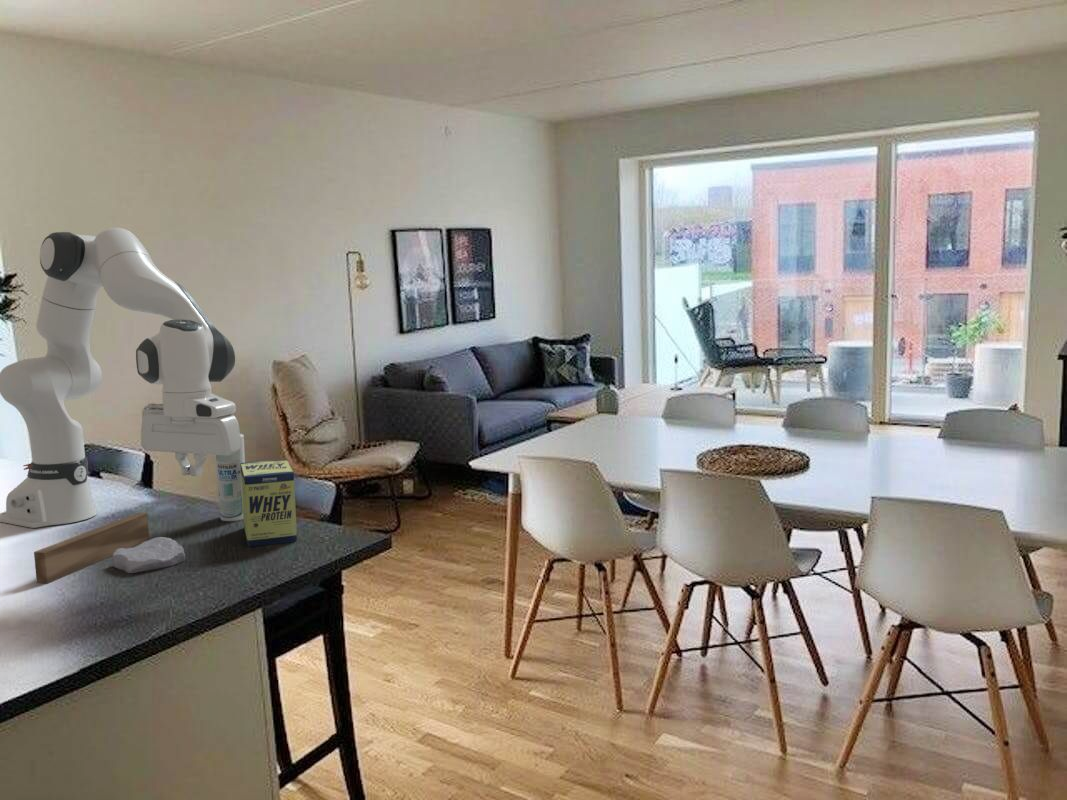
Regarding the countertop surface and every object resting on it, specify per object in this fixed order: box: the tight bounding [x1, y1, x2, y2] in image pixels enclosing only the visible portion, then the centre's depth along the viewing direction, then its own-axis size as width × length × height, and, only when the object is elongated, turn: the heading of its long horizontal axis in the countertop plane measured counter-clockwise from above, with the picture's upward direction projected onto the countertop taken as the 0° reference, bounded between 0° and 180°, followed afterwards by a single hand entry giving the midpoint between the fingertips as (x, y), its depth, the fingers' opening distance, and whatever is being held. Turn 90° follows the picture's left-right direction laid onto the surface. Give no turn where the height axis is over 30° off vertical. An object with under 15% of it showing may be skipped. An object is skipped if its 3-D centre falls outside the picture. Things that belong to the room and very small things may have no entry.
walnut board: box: [33, 512, 150, 584], centre depth 176 cm, size 2×28×6 cm, turn 165°
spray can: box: [215, 433, 246, 522], centre depth 205 cm, size 6×6×20 cm
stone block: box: [111, 536, 186, 574], centre depth 173 cm, size 12×5×10 cm
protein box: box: [240, 459, 298, 548], centre depth 192 cm, size 10×16×16 cm
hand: (192, 475), depth 167 cm, fingers closed
